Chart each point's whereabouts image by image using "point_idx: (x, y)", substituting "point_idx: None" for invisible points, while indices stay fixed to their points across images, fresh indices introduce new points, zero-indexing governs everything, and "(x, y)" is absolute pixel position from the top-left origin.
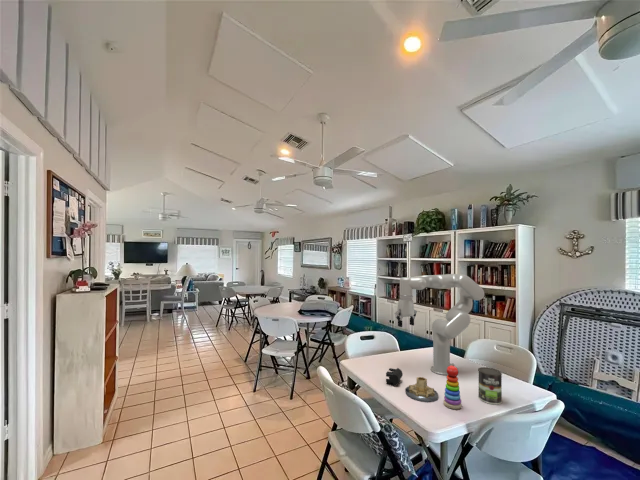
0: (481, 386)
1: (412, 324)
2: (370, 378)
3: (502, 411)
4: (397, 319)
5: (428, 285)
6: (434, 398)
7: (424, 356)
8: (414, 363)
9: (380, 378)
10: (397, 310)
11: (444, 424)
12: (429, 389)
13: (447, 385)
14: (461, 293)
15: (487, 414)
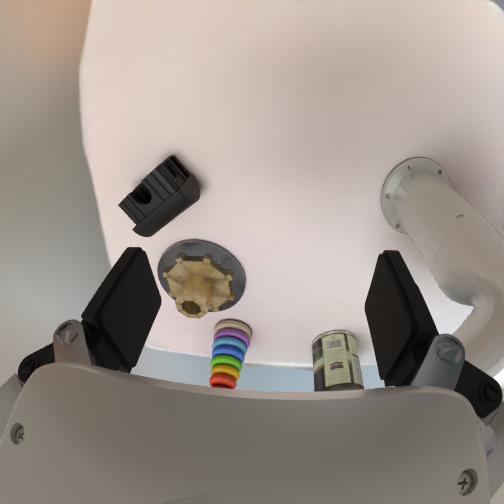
0: (315, 367)
1: (368, 307)
2: (107, 132)
3: (304, 365)
4: (68, 329)
5: None
6: (208, 311)
7: (487, 66)
8: (398, 78)
9: (139, 142)
10: (2, 459)
11: (170, 346)
12: (217, 296)
13: (212, 365)
14: None
15: (269, 361)
